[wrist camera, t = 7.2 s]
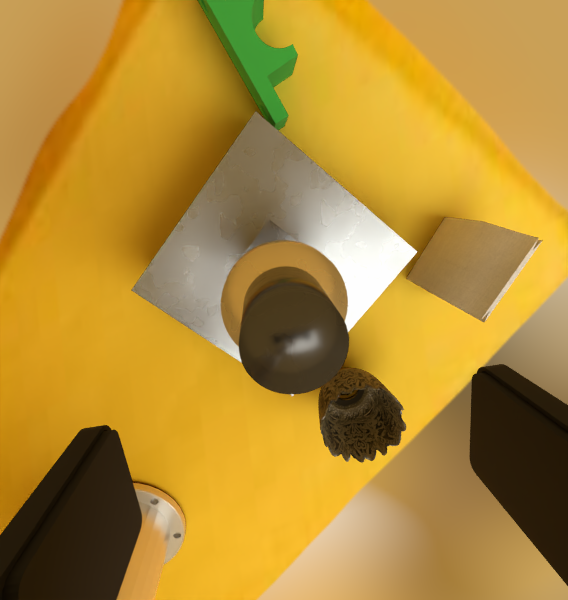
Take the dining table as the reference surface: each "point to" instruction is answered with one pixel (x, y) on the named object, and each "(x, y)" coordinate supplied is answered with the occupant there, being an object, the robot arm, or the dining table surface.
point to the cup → (359, 415)
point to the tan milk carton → (472, 264)
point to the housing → (267, 232)
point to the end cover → (287, 316)
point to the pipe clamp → (252, 53)
